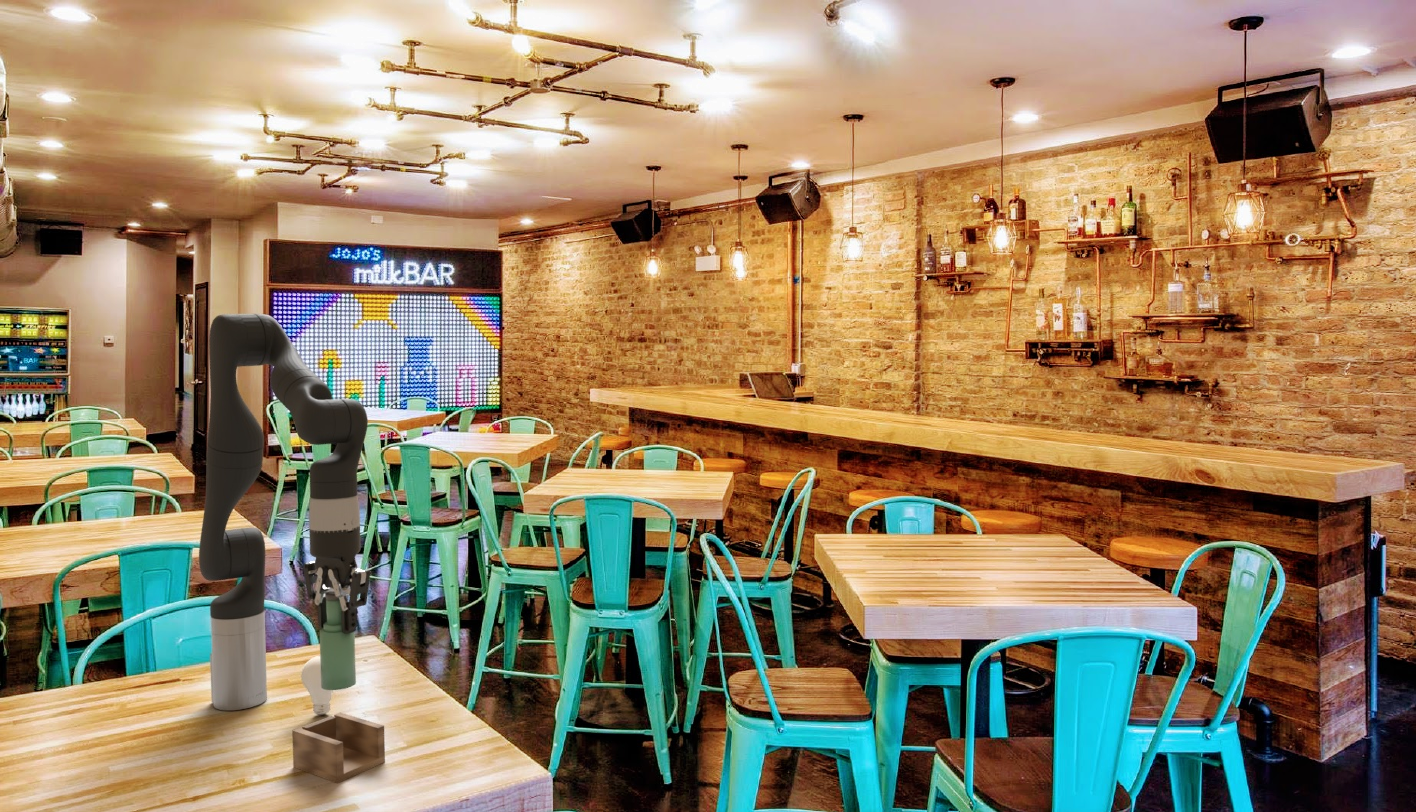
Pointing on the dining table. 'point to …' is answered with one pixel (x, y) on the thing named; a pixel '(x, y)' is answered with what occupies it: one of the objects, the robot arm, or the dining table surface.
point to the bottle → (336, 649)
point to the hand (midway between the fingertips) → (337, 629)
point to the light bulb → (316, 686)
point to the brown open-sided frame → (338, 747)
